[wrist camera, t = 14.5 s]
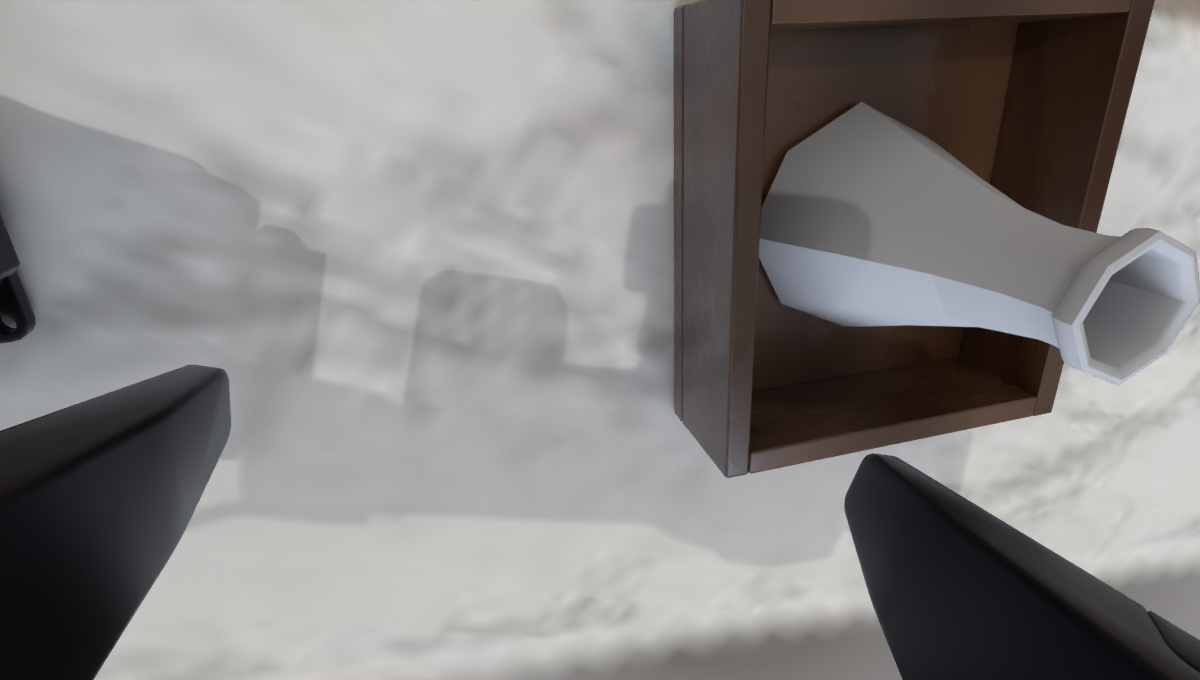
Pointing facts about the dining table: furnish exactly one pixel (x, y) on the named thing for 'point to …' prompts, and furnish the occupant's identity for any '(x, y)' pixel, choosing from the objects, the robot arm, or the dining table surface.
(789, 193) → the flask
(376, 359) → the dining table surface
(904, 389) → the crate
